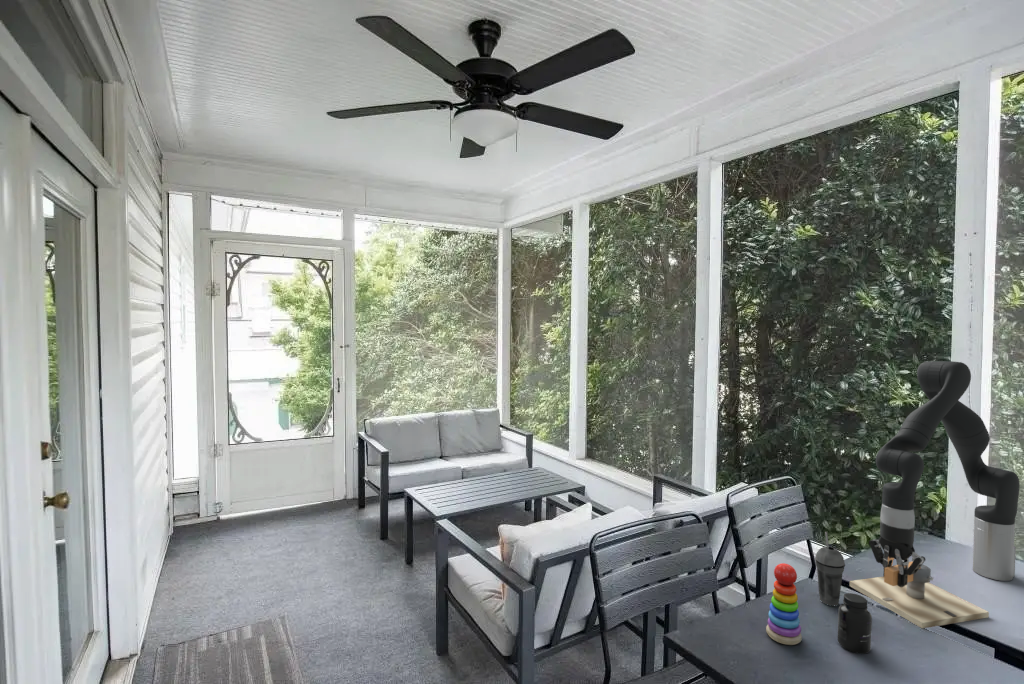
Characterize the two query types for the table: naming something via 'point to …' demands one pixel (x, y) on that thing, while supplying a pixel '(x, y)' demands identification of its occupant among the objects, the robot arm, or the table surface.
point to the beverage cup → (829, 573)
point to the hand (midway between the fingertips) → (894, 583)
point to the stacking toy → (784, 607)
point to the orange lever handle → (920, 576)
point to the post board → (920, 602)
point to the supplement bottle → (854, 624)
